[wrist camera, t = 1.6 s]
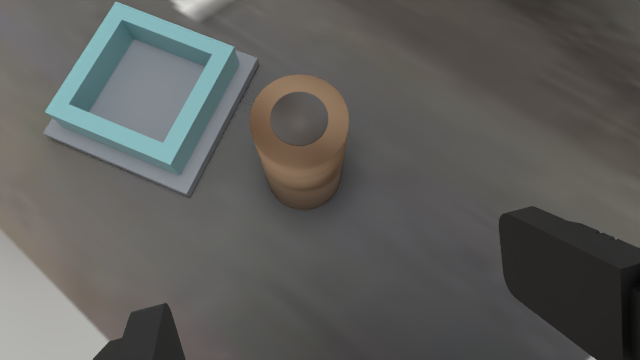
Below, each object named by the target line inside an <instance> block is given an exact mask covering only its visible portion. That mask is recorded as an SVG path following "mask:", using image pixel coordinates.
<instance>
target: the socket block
mask: <svg viewBox="0 0 640 360" xmlns="http://www.w3.org/2000/svg"><path fill="white" fill-rule="evenodd" d="M258 66H259V63H258V59H257V58H255V57H253V56H250V55H247V54H245V53H242V52H240V51H237V50H235V48H234V47H233V46H231V45H228V44H226V43H223V42H220V41H218V40H215V39H212V38H210V37H207V36H205V35H202V34H199V33H197V32H194V31H191V30H189V29H186V28H184V27H181V26H178V25H176V24H173V23H171V22H168V21H165V20H163V19H160V18H157V17H155V16H152V15H150V14H147V13H144V12H142V11H139V10H136V9H134V8H131V7H129V6H126V5H123V4H121V3H118V2H115V4H114V5H113V7H112V8H111V10H110V12H109V13H108V15H107V16H106V18H105V19H104V21H103V22H102V24H101V26H100V27H99V29H98V30H97V32H96V33H95V35H94V36H93V38H92V39H91V41H90V43H89V44H88V46H87V47H86V49H85V50H84V52H83V53H82V55H81V57H80V58H79V60H78V61H77V63H76V64H75V66H74V67H73V69H72V70H71V72H70V74H69V75H68V77H67V78H66V80H65V81H64V83H63V84H62V86H61V88H60V89H59V91H58V92H57V94H56V95H55V97H54V98H53V100H52V102H51V103H50V105H49V106H48V108H47V109H46V111H45V113H46V114H47V115H49V116H50V117H51V118H52V120H51V121H50V123H49V124H48V126H47V128H46V129H45V131H44V132H43V134H44V135H46V136H47V137H49V138H50V139H53V140H55V141H57V142H60V143H62V144H64V145H67V146H69V147H71V148H74V149H76V150H78V151H81V152H83V153H86V154H88V155H90V156H93V157H95V158H97V159H100V160H102V161H104V162H107V163H109V164H111V165H114V166H116V167H119V168H121V169H123V170H126V171H128V172H130V173H133V174H135V175H137V176H140V177H142V178H145V179H147V180H149V181H152V182H154V183H156V184H159V185H161V186H163V187H166V188H168V189H170V190H173V191H175V192H178V193H180V194H182V195H185V196H187V197H189V198H190V197H191V195H192V193H193V191H194V189H195V187H196V185H197V183H198V181H199V179H200V177H201V175H202V174H203V172H204V170H205V168H206V166H207V164H208V162H209V160H210V158H211V156H212V154H213V152H214V150H215V149H216V147H217V145H218V143H219V141H220V139H221V137H222V135H223V133H224V131H225V129H226V127H227V125H228V123H229V122H230V120H231V118H232V116H233V114H234V112H235V110H236V108H237V106H238V104H239V102H240V100H241V98H242V96H243V95H244V93H245V91H246V89H247V87H248V85H249V83H250V81H251V79H252V77H253V75H254V73H255V71H256V70H257V68H258Z"/></svg>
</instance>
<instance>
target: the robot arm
mask: <svg viewBox="0 0 640 360" xmlns="http://www.w3.org/2000/svg"><path fill="white" fill-rule="evenodd" d="M499 233H500V244H501V254H502V264H503V274H504V279H505V282H506V284H507V287H508V289H509V290H510V292H511V293H512V295H513V296H514V297H515V298H516V299H517V300H519V301H520V302H521V303H523V304H524V305H525V306H527V307H528V308H529V309H531V310H532V311H533V312H535V313H536V314H537V315H538V316H540V317H541V318H542V319H544V320H545V321H546V322H548V323H549V324H550V325H552V326H553V327H554V328H556V329H557V330H558V331H560V332H561V333H562V334H563V335H565V336H566V337H567V338H569V339H570V340H571V341H573V342H574V343H575V344H577V345H578V346H579V347H581V348H582V349H583V350H585V351H586V352H587V353H588V354H590V355H591V356H592V357H594V358H595V359H596V360H640V248H638V247H635V246H633V245H631V244H628V243H626V242H624V241H621V240H619V239H617V240H615V239H614V237H612V236H609V235H607V234H605V233H600V232H599V231H598V230H595V229H593V228H590V227H588V226H586V225H583V224H580V223H575V222H570V221H566V220H564V219H562V218H559V217H557V216H555V215H552V214H550V213H548V212H546V211H543V210H541V209H539V208H536V207H533V206H531V207H527V208H523V209H519V210H516V211H512V212H508V213H505V214H502V215H501V217H500V219H499ZM93 360H186V359H185V356H184V353H183V349H182V346H181V343H180V339H179V336H178V333H177V329H176V326H175V323H174V319H173V316H172V313H171V310H170V308H169V306H168V304H167V303H164V304H160V305H157V306H153V307H149V308H145V309H142V310H138V311H134V312H131V314H130V316H129V319H128V322H127V325H126V328H125V331H124V334H123V337H122V338H120V339H117V340H113V341H109V342H108V344H107V345H106V346H105V347H104V348H103V349H102V350H101V351H100V352H99V353H98V354H97V355H96V356H95V357H94V358H93Z"/></svg>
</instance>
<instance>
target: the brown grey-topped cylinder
mask: <svg viewBox="0 0 640 360" xmlns="http://www.w3.org/2000/svg"><path fill="white" fill-rule="evenodd" d="M348 127H349V113H348V109H347V106H346V103H345V101H344V99H343V97H342V96H341V94H340V93H339V92H338V91H337V90H336V89H335V88H334V87H333V86H332V85H331V84H329V83H328V82H326V81H324V80H322V79H320V78H317V77H314V76H309V75H290V76H286V77H282V78H280V79H277V80H275V81H274V82H272V83H270V84H269V85H268V86H266V87H265V88H264V89H263V90H262V91H261V92H260V93H259V95H258V96H257V98H256V99H255V101H254V103H253V106H252V108H251V112H250V129H251V133H252V136H253V139H254V142H255V145H256V148H257V151H258V154H259V157H260V160H261V163H262V166H263V169H264V172H265V175H266V178H267V181H268V184H269V187H270V189H271V191H272V193H273V194H274V195H275V197H276V198H277V199H278V200H279V201H280V202H282V203H283V204H285V205H287V206H289V207H292V208H295V209H303V210H304V209H312V208H316V207H319V206H321V205H323V204H324V203H326V202H327V201H328V200H330V199H331V197H332V196H333V195H334V194H335V192H336V190H337V189H338V186H339V183H340V178H341V172H342V165H343V159H344V152H345V146H346V140H347V133H348Z"/></svg>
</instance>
